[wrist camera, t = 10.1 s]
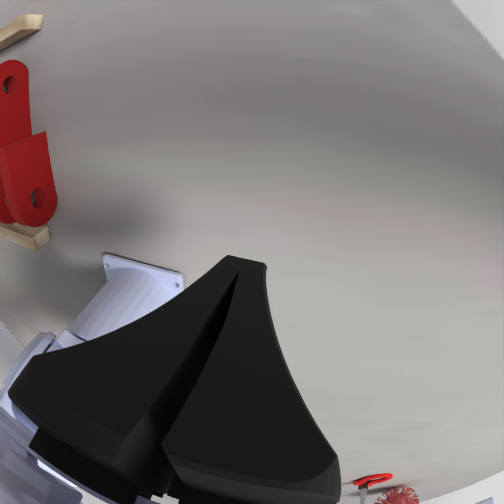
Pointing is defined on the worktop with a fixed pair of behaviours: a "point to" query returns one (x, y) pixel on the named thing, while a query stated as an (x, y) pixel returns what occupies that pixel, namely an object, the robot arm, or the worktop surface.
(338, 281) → the worktop surface
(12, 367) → the robot arm
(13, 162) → the mechanical linkage
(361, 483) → the tow hook
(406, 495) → the virus model
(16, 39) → the tray
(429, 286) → the worktop surface
